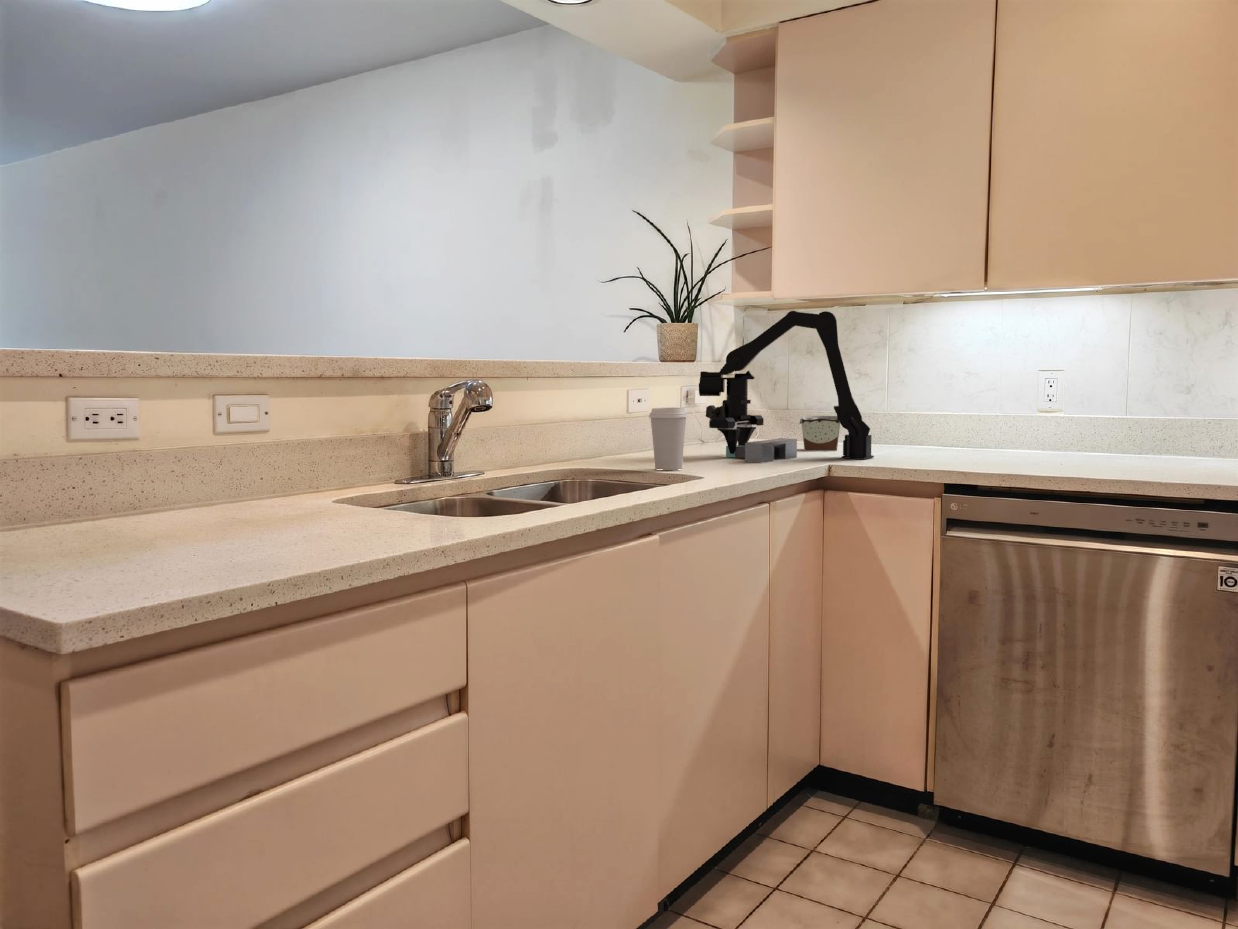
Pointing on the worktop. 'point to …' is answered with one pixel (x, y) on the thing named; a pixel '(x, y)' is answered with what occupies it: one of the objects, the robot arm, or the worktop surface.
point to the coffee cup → (668, 437)
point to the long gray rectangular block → (770, 450)
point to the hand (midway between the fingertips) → (736, 453)
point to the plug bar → (738, 452)
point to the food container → (820, 433)
